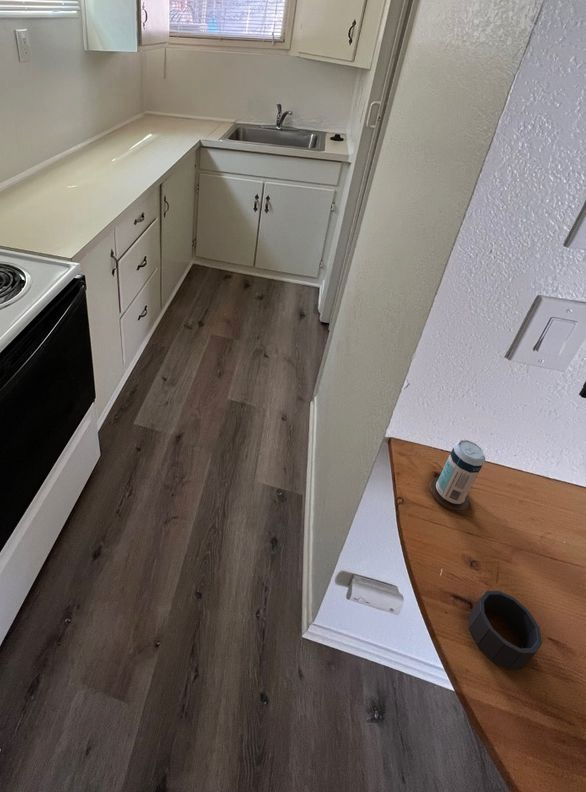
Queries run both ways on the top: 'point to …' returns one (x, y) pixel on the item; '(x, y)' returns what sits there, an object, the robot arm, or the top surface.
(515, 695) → the top surface
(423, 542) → the top surface
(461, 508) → the coaster
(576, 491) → the top surface
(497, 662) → the ring
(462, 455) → the beer can
